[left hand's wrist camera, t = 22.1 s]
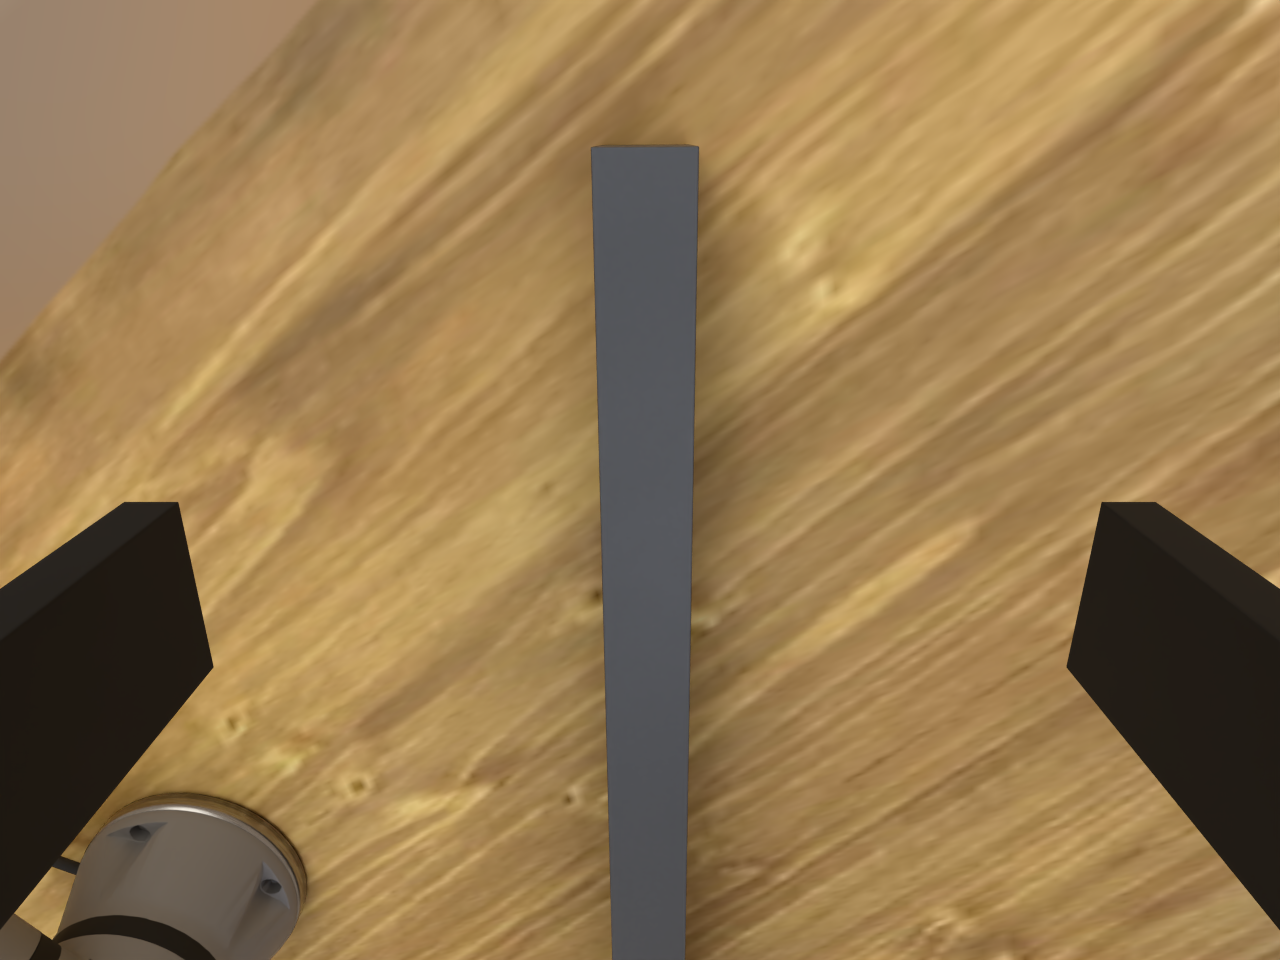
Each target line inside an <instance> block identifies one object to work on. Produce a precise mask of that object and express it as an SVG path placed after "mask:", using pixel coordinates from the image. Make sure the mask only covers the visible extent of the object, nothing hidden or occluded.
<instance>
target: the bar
mask: <svg viewBox="0 0 1280 960" xmlns="http://www.w3.org/2000/svg"><path fill="white" fill-rule="evenodd" d="M591 168H592V206H593V244H594V282H595V320H596V358H597V396H598V434H599V472H600V510H601V548H602V586H603V624H604V662H605V700H606V738H607V776H608V814H609V852H610V890H611V928H612V960H685V932H686V874H687V816H688V757H689V699H690V641H691V582H692V524H693V466H694V407H695V349H696V291H697V232H698V174H699V147H698V146H693V145H600V146H595V147H591Z"/></svg>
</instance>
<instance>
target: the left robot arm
mask: <svg viewBox="0 0 1280 960" xmlns="http://www.w3.org/2000/svg"><path fill="white" fill-rule="evenodd" d="M212 668H213V662H212V658H211V653H210V648H209V643H208V639H207V634H206V629H205V625H204V620H203V615H202V611H201V606H200V601H199V597H198V592H197V587H196V583H195V578H194V573H193V569H192V564H191V559H190V555H189V550H188V545H187V541H186V536H185V531H184V527H183V522H182V517H181V513H180V508H179V503H178V502H124V503H122V504H121V505H120V506H118V507H117V508H115V509H114V510H112V511H111V512H109V513H108V514H107V515H105V516H104V517H102V518H101V519H99V520H98V521H97V522H95V523H94V524H92V525H91V526H89V527H88V528H87V529H85V530H84V531H82V532H81V533H79V534H78V535H77V536H75V537H74V538H72V539H71V540H69V541H68V542H67V543H65V544H64V545H62V546H61V547H59V548H58V549H57V550H55V551H54V552H52V553H51V554H49V555H48V556H47V557H45V558H44V559H42V560H41V561H39V562H38V563H37V564H35V565H34V566H32V567H31V568H29V569H28V570H27V571H25V572H24V573H22V574H21V575H19V576H18V577H17V578H15V579H14V580H12V581H11V582H9V583H8V584H7V585H5V586H4V587H2V588H1V589H0V960H270V959H271V958H272V957H273V956H274V955H275V954H276V953H277V952H278V950H279V949H280V948H281V947H282V946H283V944H284V943H285V941H286V940H287V939H288V938H289V936H290V935H291V933H292V931H293V929H294V927H295V925H296V923H297V920H298V918H299V916H300V914H301V911H302V909H303V906H304V903H305V899H306V890H307V885H306V877H305V872H304V869H303V866H302V863H301V861H300V859H299V857H298V855H297V853H296V852H295V850H294V849H293V847H292V846H291V845H290V843H289V842H288V841H287V840H286V838H285V837H284V836H283V835H282V834H281V833H280V832H279V831H278V830H277V829H276V828H274V827H273V826H272V825H271V824H269V823H268V822H267V821H266V820H264V819H262V818H261V817H259V816H258V815H256V814H255V813H253V812H251V811H249V810H247V809H245V808H243V807H241V806H239V805H236V804H234V803H231V802H228V801H225V800H222V799H218V798H215V797H210V796H205V795H198V794H188V793H171V794H161V795H155V796H151V797H147V798H143V799H141V800H138V801H135V802H133V803H131V804H129V805H127V806H125V807H124V808H122V809H120V810H119V811H118V812H116V813H115V814H114V815H113V816H112V817H111V818H110V819H109V820H108V821H107V822H106V823H105V824H104V826H103V827H102V828H101V829H100V831H99V832H98V833H97V835H96V836H95V837H94V838H93V840H92V841H91V843H90V844H89V846H88V848H87V849H86V851H85V854H84V856H83V858H82V860H81V863H79V862H76V861H73V860H70V859H67V858H65V857H62V856H61V855H62V853H63V852H64V851H65V850H66V848H67V847H68V846H69V845H70V843H71V842H72V841H73V840H74V839H75V837H76V836H77V835H78V834H79V832H80V831H81V830H82V829H83V827H84V826H85V825H86V824H87V822H88V821H89V820H90V819H91V818H92V816H93V815H94V814H95V813H96V811H97V810H98V809H99V808H100V806H101V805H102V804H103V803H104V802H105V800H106V799H107V798H108V797H109V795H110V794H111V793H112V792H113V790H114V789H115V788H116V787H117V786H118V784H119V783H120V782H121V781H122V779H123V778H124V777H125V776H126V774H127V773H128V772H129V771H130V769H131V768H132V767H133V766H134V765H135V763H136V762H137V761H138V760H139V758H140V757H141V756H142V755H143V753H144V752H145V751H146V750H147V749H148V747H149V746H150V745H151V744H152V742H153V741H154V740H155V739H156V737H157V736H158V735H159V734H160V732H161V731H162V730H163V729H164V728H165V726H166V725H167V724H168V723H169V721H170V720H171V719H172V718H173V716H174V715H175V714H176V713H177V712H178V710H179V709H180V708H181V707H182V705H183V704H184V703H185V702H186V700H187V699H188V698H189V697H190V696H191V694H192V693H193V692H194V691H195V689H196V688H197V687H198V686H199V684H200V683H201V682H202V681H203V679H204V678H205V677H206V676H207V675H208V673H209V672H210V671H211V670H212ZM1067 668H1068V670H1069V671H1070V672H1071V673H1072V675H1073V676H1074V677H1075V678H1076V679H1077V681H1078V682H1079V683H1080V684H1081V686H1082V687H1083V688H1084V689H1085V691H1086V692H1087V693H1088V694H1089V696H1090V697H1091V698H1092V699H1093V700H1094V702H1095V703H1096V704H1097V705H1098V707H1099V708H1100V709H1101V710H1102V712H1103V713H1104V714H1105V715H1106V716H1107V718H1108V719H1109V720H1110V721H1111V723H1112V724H1113V725H1114V726H1115V728H1116V729H1117V730H1118V731H1119V733H1120V734H1121V735H1122V736H1123V737H1124V739H1125V740H1126V741H1127V742H1128V744H1129V745H1130V746H1131V747H1132V749H1133V750H1134V751H1135V752H1136V753H1137V755H1138V756H1139V757H1140V758H1141V760H1142V761H1143V762H1144V763H1145V765H1146V766H1147V767H1148V768H1149V769H1150V771H1151V772H1152V773H1153V774H1154V776H1155V777H1156V778H1157V779H1158V781H1159V782H1160V783H1161V784H1162V786H1163V787H1164V788H1165V789H1166V790H1167V792H1168V793H1169V794H1170V795H1171V797H1172V798H1173V799H1174V800H1175V802H1176V803H1177V804H1178V805H1179V806H1180V808H1181V809H1182V810H1183V811H1184V813H1185V814H1186V815H1187V816H1188V818H1189V819H1190V820H1191V821H1192V822H1193V824H1194V825H1195V826H1196V827H1197V829H1198V830H1199V831H1200V832H1201V834H1202V835H1203V836H1204V837H1205V839H1206V840H1207V841H1208V842H1209V843H1210V845H1211V846H1212V847H1213V848H1214V850H1215V851H1216V852H1217V853H1218V855H1219V856H1220V857H1221V858H1222V859H1223V861H1224V862H1225V863H1226V864H1227V866H1228V867H1229V868H1230V869H1231V871H1232V872H1233V873H1234V874H1235V875H1236V877H1237V878H1238V879H1239V880H1240V882H1241V883H1242V884H1243V885H1244V887H1245V888H1246V889H1247V890H1248V892H1249V893H1250V894H1251V895H1252V896H1253V898H1254V899H1255V900H1256V901H1257V903H1258V904H1259V905H1260V906H1261V908H1262V909H1263V910H1264V911H1265V912H1266V914H1267V915H1268V916H1269V917H1270V919H1271V920H1272V921H1273V922H1274V924H1275V925H1276V926H1277V927H1278V928H1279V930H1280V589H1279V588H1278V587H1276V586H1275V585H1273V584H1272V583H1271V582H1269V581H1268V580H1266V579H1265V578H1263V577H1262V576H1261V575H1259V574H1258V573H1256V572H1255V571H1253V570H1252V569H1251V568H1249V567H1248V566H1246V565H1245V564H1243V563H1242V562H1241V561H1239V560H1238V559H1236V558H1235V557H1233V556H1232V555H1231V554H1229V553H1228V552H1226V551H1225V550H1223V549H1222V548H1221V547H1219V546H1218V545H1216V544H1215V543H1213V542H1212V541H1211V540H1209V539H1208V538H1206V537H1205V536H1203V535H1202V534H1201V533H1199V532H1198V531H1196V530H1195V529H1193V528H1192V527H1191V526H1189V525H1188V524H1186V523H1185V522H1183V521H1182V520H1181V519H1179V518H1178V517H1176V516H1175V515H1173V514H1172V513H1171V512H1169V511H1168V510H1166V509H1165V508H1163V507H1162V506H1160V505H1159V504H1158V503H1156V502H1102V503H1101V508H1100V513H1099V517H1098V522H1097V527H1096V531H1095V536H1094V541H1093V545H1092V550H1091V555H1090V559H1089V564H1088V569H1087V573H1086V578H1085V583H1084V587H1083V592H1082V597H1081V601H1080V606H1079V611H1078V615H1077V620H1076V625H1075V629H1074V634H1073V639H1072V643H1071V648H1070V653H1069V657H1068V662H1067ZM51 867H55V868H58V869H60V870H63V871H66V872H69V873H72V874H75V875H76V877H75V880H74V883H73V886H72V890H71V893H70V896H69V899H68V902H67V905H66V908H65V911H64V914H63V917H62V920H61V923H60V926H59V929H58V932H57V934H56V935H55V937H54V938H53V940H51V939H50V938H48V937H47V936H45V935H44V934H42V933H41V932H40V931H39V930H37V929H36V928H34V927H33V926H32V925H30V924H29V923H27V922H26V921H24V920H23V919H21V918H20V917H19V916H17V915H16V914H14V912H15V911H16V910H17V909H18V908H19V906H20V905H21V904H22V903H23V901H24V900H25V899H26V898H27V896H28V895H29V894H30V893H31V892H32V890H33V889H34V888H35V887H36V885H37V884H38V883H39V882H40V880H41V879H42V878H43V877H44V875H45V874H46V873H47V872H48V871H49V869H50V868H51Z"/></svg>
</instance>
